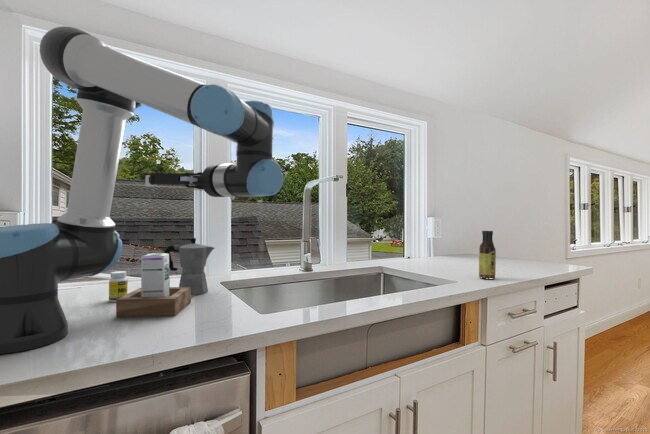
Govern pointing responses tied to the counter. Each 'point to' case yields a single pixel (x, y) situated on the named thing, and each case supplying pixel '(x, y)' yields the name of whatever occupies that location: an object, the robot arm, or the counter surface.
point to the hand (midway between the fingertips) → (172, 183)
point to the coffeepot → (191, 265)
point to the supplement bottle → (117, 285)
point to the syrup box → (155, 275)
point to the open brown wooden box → (153, 304)
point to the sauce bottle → (487, 256)
